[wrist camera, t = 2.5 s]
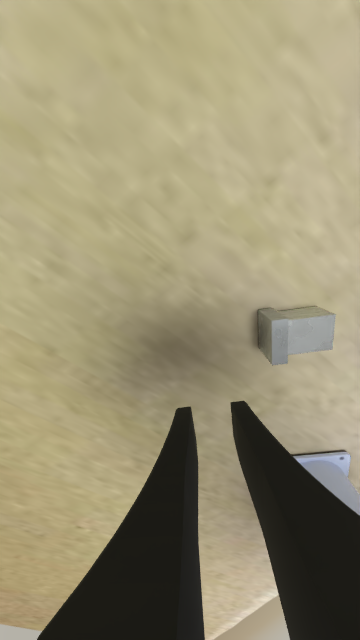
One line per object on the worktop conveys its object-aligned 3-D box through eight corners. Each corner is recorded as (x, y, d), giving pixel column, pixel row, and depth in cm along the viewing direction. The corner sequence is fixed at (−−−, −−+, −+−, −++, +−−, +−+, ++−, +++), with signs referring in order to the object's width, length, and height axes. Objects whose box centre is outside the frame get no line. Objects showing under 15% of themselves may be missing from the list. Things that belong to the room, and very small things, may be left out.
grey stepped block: (259, 348, 19) (272, 365, 16) (257, 309, 18) (271, 320, 15) (313, 341, 19) (337, 357, 16) (316, 301, 18) (341, 311, 15)
